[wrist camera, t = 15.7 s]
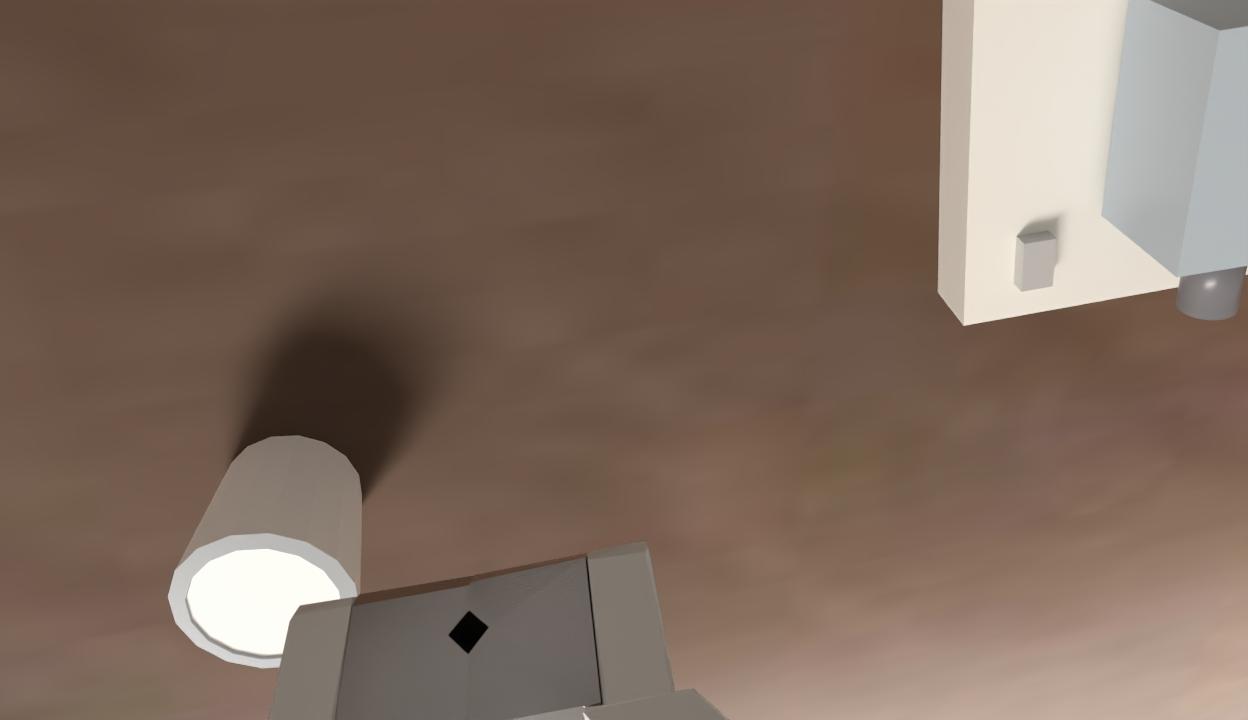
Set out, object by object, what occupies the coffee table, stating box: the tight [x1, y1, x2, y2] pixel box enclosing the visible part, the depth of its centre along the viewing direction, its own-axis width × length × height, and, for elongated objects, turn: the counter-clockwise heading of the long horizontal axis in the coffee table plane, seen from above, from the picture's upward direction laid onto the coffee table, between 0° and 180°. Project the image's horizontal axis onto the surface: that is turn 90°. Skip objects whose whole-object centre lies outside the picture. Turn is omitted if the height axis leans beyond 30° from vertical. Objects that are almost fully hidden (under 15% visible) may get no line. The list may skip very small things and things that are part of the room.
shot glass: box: [168, 435, 362, 668], centre depth 42 cm, size 7×7×7 cm
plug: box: [1101, 0, 1248, 320], centre depth 36 cm, size 11×6×8 cm, turn 7°
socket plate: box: [938, 0, 1248, 326], centre depth 38 cm, size 16×16×4 cm
